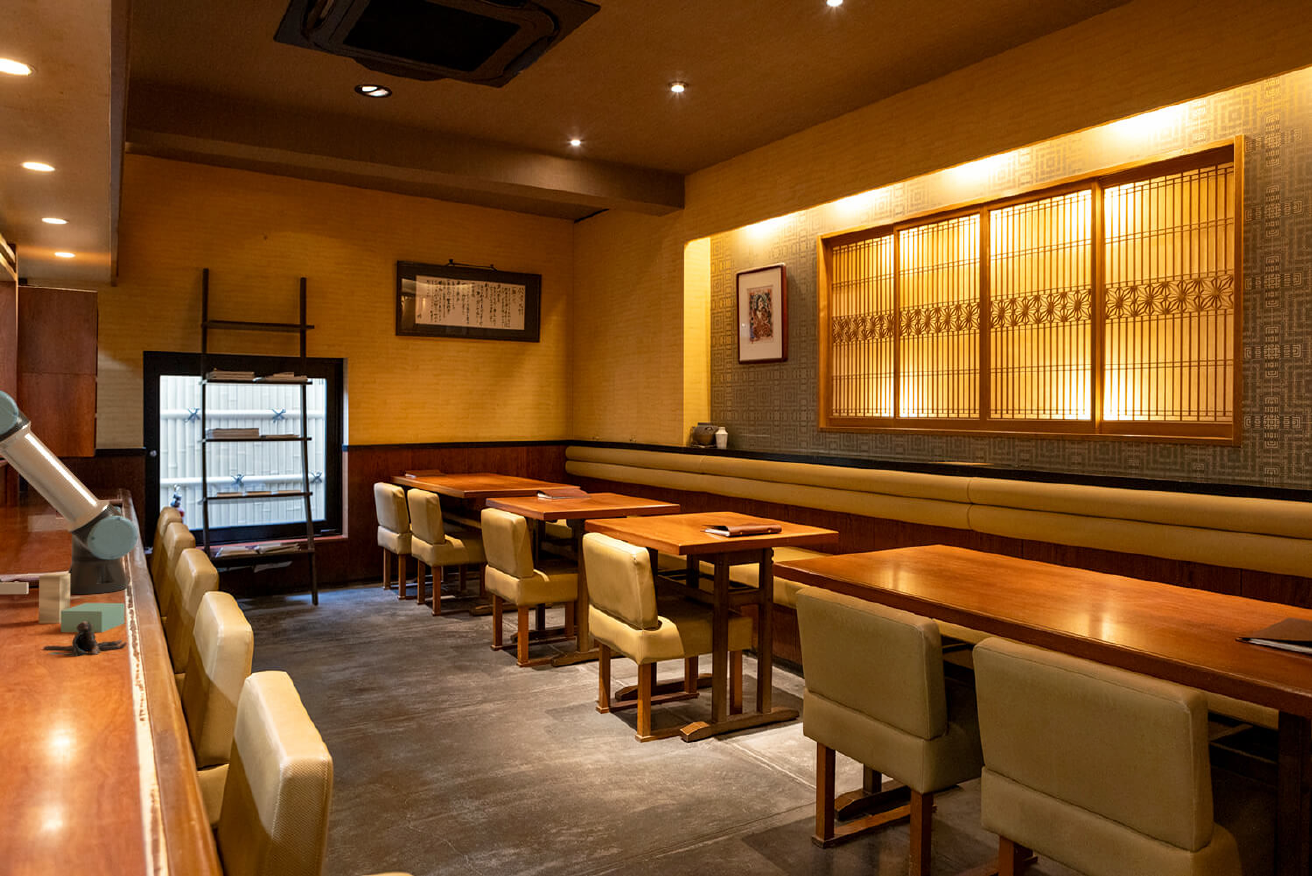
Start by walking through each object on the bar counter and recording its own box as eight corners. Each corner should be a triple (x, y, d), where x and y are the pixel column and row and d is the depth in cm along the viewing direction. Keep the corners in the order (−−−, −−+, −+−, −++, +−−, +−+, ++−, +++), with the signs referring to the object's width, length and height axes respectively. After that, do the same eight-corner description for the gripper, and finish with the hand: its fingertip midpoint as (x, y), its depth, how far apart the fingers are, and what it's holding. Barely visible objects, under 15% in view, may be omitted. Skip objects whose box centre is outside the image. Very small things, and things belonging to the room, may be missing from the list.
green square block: (85, 624, 207) (85, 602, 207) (124, 624, 208) (124, 603, 207) (60, 633, 198) (61, 611, 198) (101, 633, 199) (101, 611, 198)
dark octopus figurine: (128, 647, 183) (71, 619, 177) (95, 689, 180) (37, 663, 175) (126, 634, 193) (73, 608, 187) (96, 674, 190) (40, 648, 185)
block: (49, 619, 210) (50, 573, 210) (69, 619, 211) (70, 573, 211) (38, 623, 206) (39, 576, 206) (59, 623, 206) (59, 576, 206)
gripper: (-52, 599, 217) (40, 599, 220) (-130, 621, 192) (-25, 621, 195) (-52, 569, 217) (41, 569, 219) (-130, 587, 192) (-24, 587, 195)
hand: (10, 593), depth 207 cm, fingers open, 13 cm apart
